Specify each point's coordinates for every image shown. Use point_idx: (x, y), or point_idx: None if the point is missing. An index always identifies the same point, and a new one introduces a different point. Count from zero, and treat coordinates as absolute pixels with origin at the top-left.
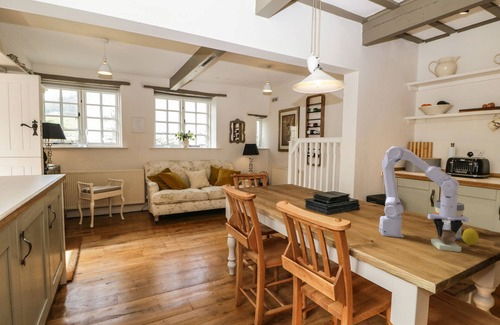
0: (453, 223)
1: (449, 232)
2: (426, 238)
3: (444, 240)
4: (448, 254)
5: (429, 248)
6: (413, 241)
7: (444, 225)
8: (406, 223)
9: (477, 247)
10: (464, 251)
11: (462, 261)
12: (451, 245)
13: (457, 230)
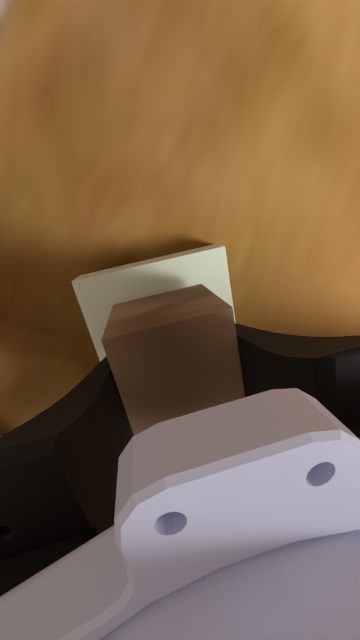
0: (111, 500)
1: (167, 333)
2: None
3: (193, 290)
4: (173, 162)
5: (269, 236)
6: (326, 328)
7: None
8: None
9: None
10: (54, 300)
11: (100, 18)
12: (138, 287)
13: (72, 392)
